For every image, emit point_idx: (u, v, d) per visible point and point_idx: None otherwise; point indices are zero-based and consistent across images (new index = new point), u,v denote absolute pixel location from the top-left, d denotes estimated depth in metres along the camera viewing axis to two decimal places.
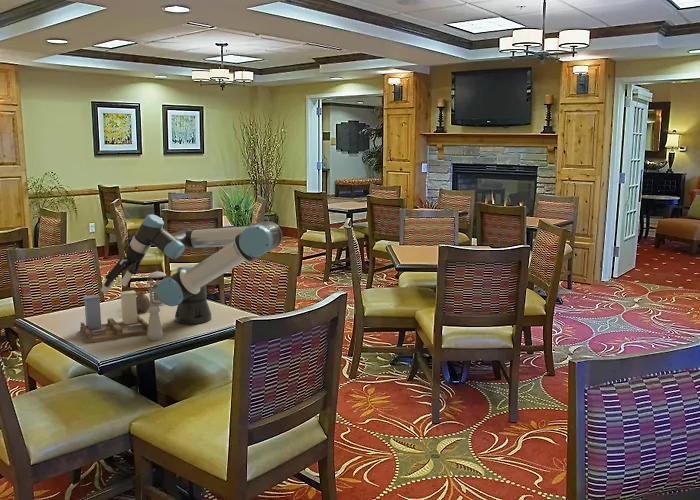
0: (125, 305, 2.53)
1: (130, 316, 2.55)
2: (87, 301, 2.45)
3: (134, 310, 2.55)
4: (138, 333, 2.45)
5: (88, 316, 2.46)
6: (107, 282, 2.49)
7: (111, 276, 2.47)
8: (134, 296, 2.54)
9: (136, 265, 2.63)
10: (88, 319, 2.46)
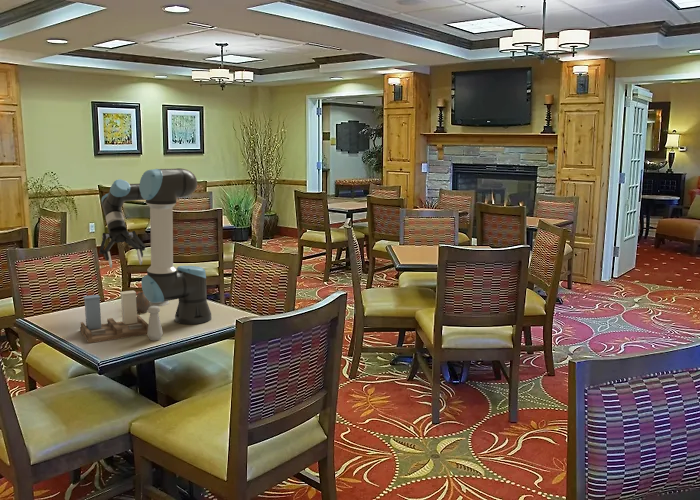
0: (125, 305, 2.53)
1: (130, 316, 2.55)
2: (87, 301, 2.45)
3: (134, 310, 2.55)
4: (138, 333, 2.45)
5: (88, 316, 2.46)
6: (104, 255, 2.64)
7: (100, 247, 2.65)
8: (134, 296, 2.54)
9: (138, 242, 2.74)
10: (88, 319, 2.46)
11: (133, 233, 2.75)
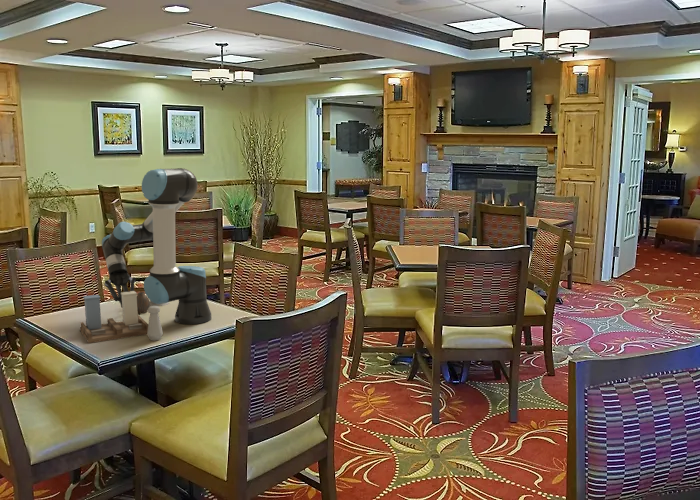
0: (125, 306, 2.52)
1: (130, 317, 2.54)
2: (87, 301, 2.45)
3: (134, 311, 2.54)
4: (138, 333, 2.45)
5: (88, 316, 2.46)
6: (120, 303, 2.59)
7: (113, 295, 2.60)
8: (135, 297, 2.53)
9: (130, 289, 2.65)
10: (88, 319, 2.46)
11: (132, 279, 2.67)
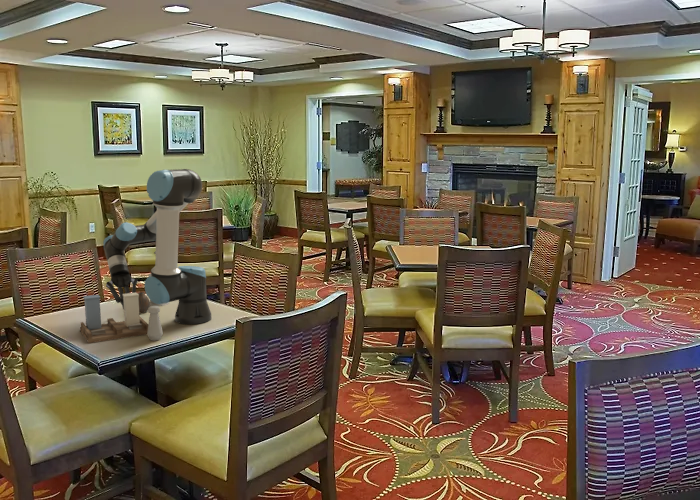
0: (127, 307, 2.49)
1: (132, 319, 2.51)
2: (87, 301, 2.45)
3: (136, 313, 2.52)
4: (138, 333, 2.45)
5: (88, 316, 2.46)
6: (122, 304, 2.57)
7: (115, 297, 2.57)
8: (137, 298, 2.51)
9: (132, 290, 2.62)
10: (88, 319, 2.46)
11: (134, 280, 2.64)
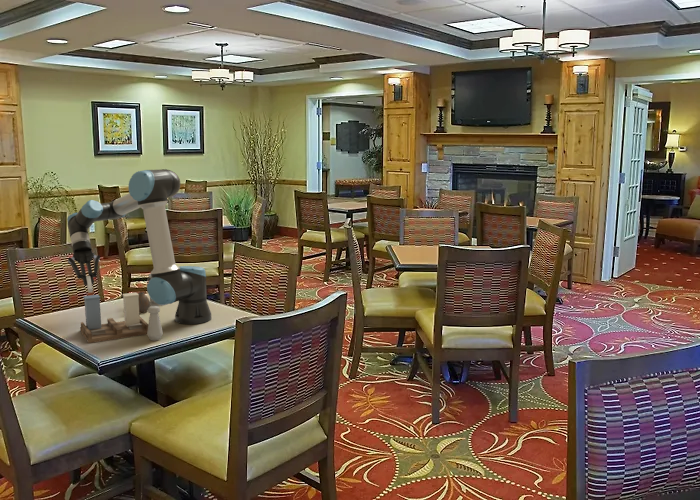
0: (127, 307, 2.49)
1: (132, 319, 2.51)
2: (87, 301, 2.45)
3: (136, 313, 2.52)
4: (138, 333, 2.45)
5: (88, 316, 2.46)
6: (83, 280, 2.59)
7: (76, 273, 2.59)
8: (137, 298, 2.51)
9: (94, 266, 2.64)
10: (88, 319, 2.46)
11: (96, 257, 2.66)
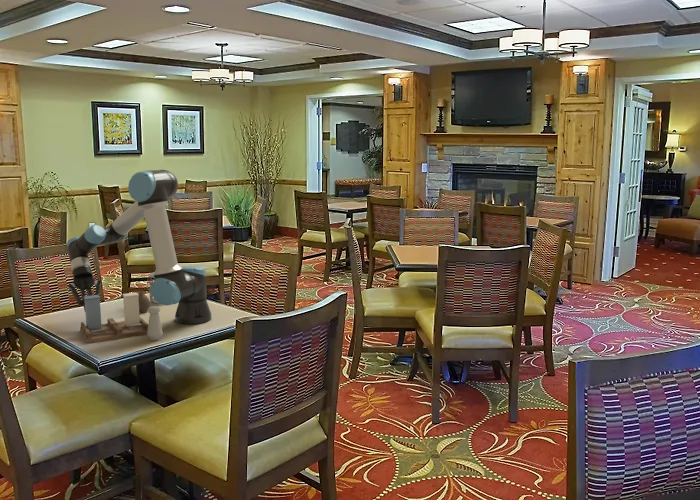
0: (127, 307, 2.49)
1: (132, 319, 2.51)
2: (87, 301, 2.44)
3: (136, 313, 2.52)
4: (138, 333, 2.45)
5: (88, 316, 2.46)
6: (84, 307, 2.53)
7: (77, 299, 2.53)
8: (137, 298, 2.51)
9: (95, 292, 2.58)
10: (88, 319, 2.46)
11: (97, 283, 2.60)
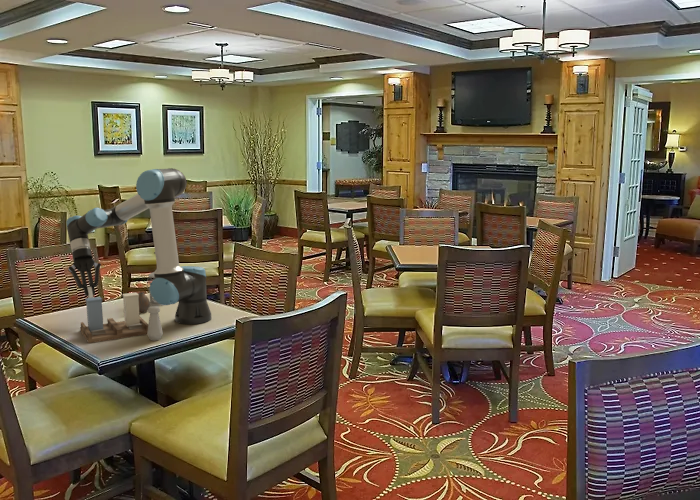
0: (127, 307, 2.49)
1: (132, 319, 2.51)
2: (89, 303, 2.41)
3: (136, 313, 2.52)
4: (138, 333, 2.45)
5: (90, 319, 2.42)
6: (84, 290, 2.58)
7: (77, 283, 2.57)
8: (137, 298, 2.51)
9: (95, 275, 2.62)
10: (90, 322, 2.42)
11: (97, 265, 2.64)
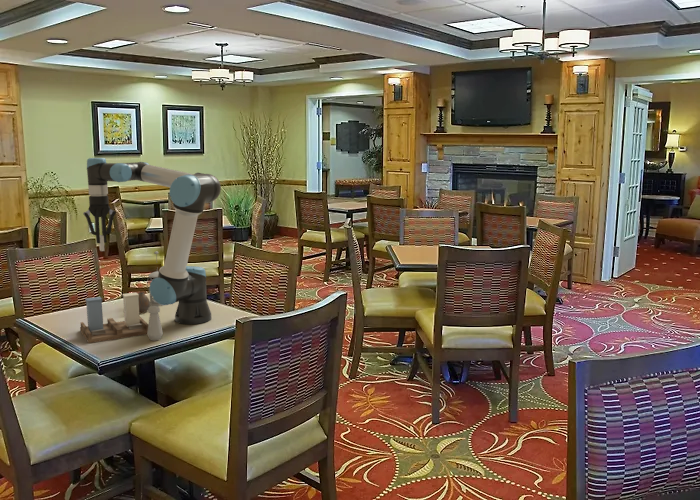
0: (127, 307, 2.49)
1: (132, 319, 2.51)
2: (89, 303, 2.41)
3: (136, 313, 2.52)
4: (138, 333, 2.45)
5: (90, 319, 2.42)
6: (96, 238, 2.63)
7: (90, 230, 2.61)
8: (137, 298, 2.51)
9: (108, 223, 2.64)
10: (90, 322, 2.42)
11: (112, 213, 2.64)
